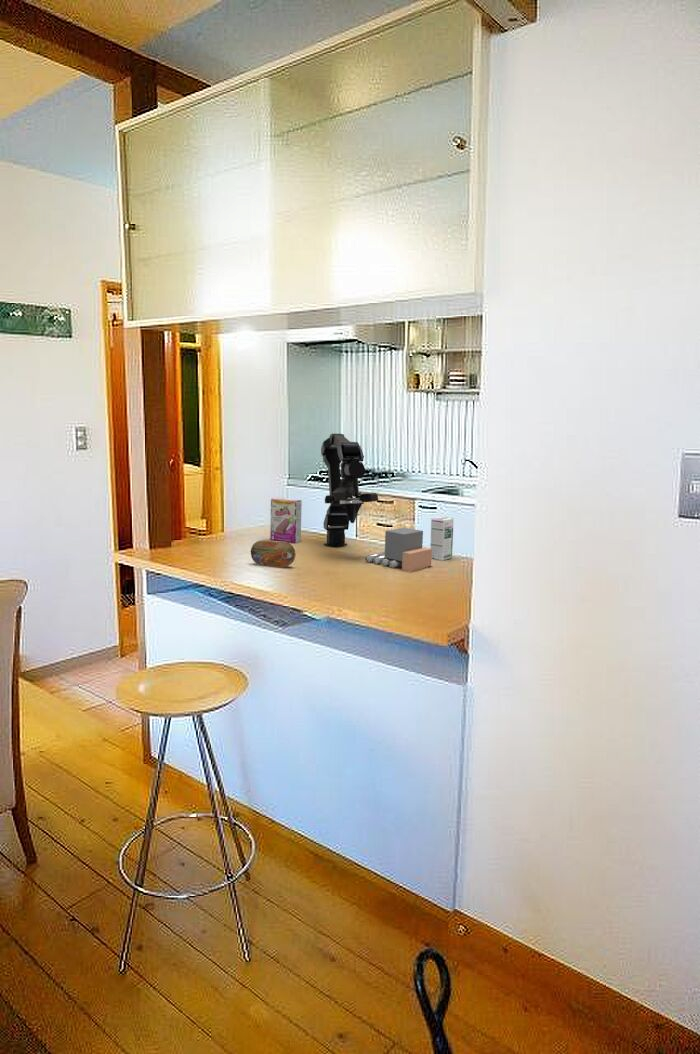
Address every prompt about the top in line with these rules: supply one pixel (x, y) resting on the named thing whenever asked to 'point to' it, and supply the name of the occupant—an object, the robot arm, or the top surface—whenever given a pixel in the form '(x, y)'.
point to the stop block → (416, 559)
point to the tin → (273, 553)
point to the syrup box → (441, 537)
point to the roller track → (383, 560)
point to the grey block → (402, 542)
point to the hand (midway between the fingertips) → (352, 523)
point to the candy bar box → (285, 520)
